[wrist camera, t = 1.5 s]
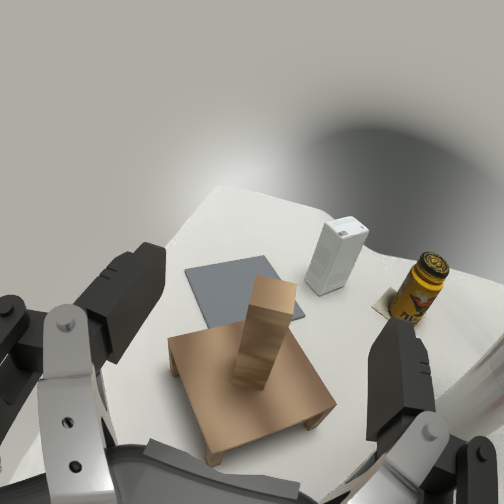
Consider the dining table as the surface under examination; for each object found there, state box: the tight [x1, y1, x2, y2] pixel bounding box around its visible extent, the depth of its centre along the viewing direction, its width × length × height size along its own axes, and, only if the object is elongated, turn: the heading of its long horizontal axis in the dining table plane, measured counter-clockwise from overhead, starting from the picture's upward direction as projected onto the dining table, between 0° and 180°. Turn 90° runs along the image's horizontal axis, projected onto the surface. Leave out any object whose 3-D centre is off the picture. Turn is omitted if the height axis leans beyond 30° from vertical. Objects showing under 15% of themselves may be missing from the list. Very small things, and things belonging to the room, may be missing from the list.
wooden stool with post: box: [168, 275, 337, 467], centre depth 30 cm, size 13×13×19 cm
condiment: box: [372, 252, 449, 330], centre depth 47 cm, size 7×8×12 cm
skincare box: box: [305, 216, 369, 296], centre depth 50 cm, size 6×4×12 cm
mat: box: [185, 255, 305, 329], centre depth 49 cm, size 14×14×1 cm
